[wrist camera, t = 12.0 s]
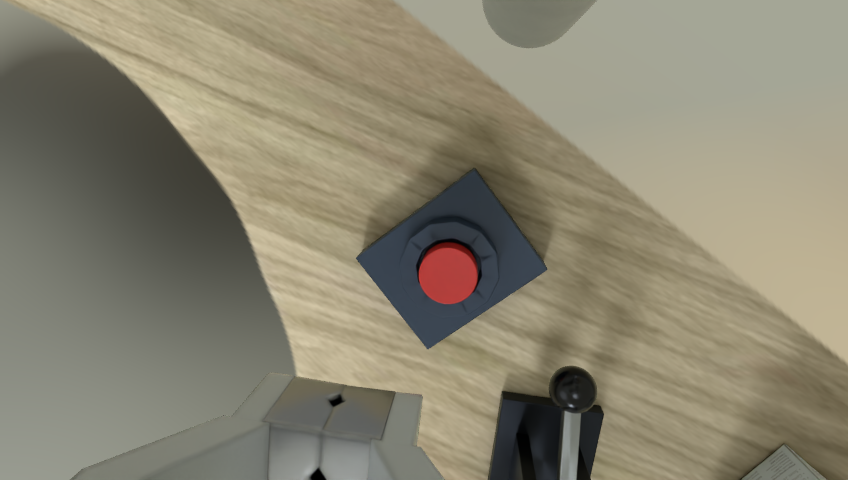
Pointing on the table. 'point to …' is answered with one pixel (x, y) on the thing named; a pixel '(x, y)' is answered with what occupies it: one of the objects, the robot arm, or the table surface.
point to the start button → (448, 273)
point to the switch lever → (571, 413)
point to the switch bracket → (538, 439)
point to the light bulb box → (784, 467)
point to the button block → (460, 223)
